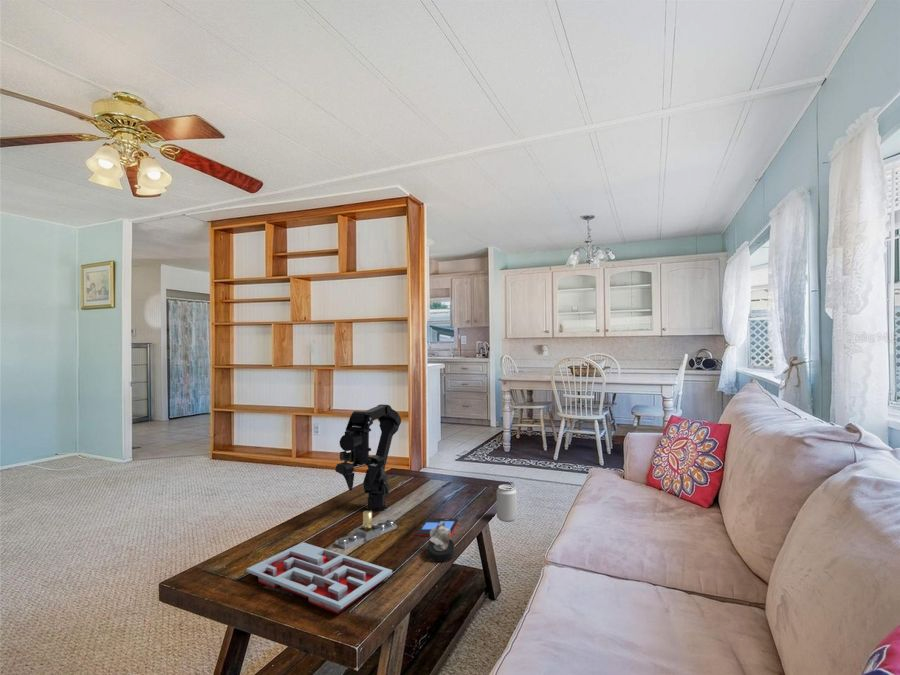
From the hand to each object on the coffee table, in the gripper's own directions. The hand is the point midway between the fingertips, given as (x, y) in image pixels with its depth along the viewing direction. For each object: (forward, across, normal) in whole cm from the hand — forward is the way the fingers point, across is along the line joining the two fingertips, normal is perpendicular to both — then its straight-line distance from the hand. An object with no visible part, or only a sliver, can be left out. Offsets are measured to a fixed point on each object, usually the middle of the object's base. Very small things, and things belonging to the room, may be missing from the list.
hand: (360, 487), depth 164 cm
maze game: (+12, +34, +26) cm, 44 cm away
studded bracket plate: (+12, +7, +13) cm, 19 cm away
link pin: (+12, +7, +13) cm, 19 cm away
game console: (+13, -13, +27) cm, 33 cm away
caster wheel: (+12, 0, +41) cm, 43 cm away
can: (+12, -37, +40) cm, 56 cm away
